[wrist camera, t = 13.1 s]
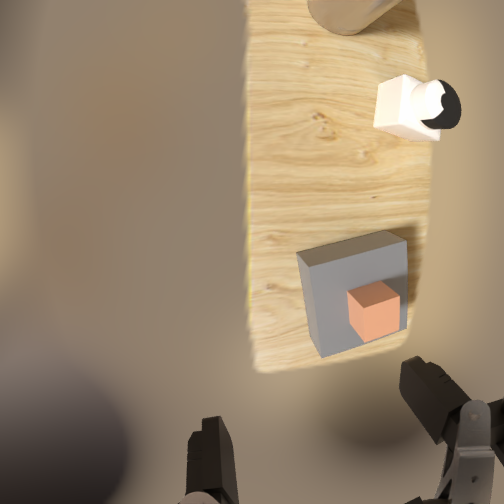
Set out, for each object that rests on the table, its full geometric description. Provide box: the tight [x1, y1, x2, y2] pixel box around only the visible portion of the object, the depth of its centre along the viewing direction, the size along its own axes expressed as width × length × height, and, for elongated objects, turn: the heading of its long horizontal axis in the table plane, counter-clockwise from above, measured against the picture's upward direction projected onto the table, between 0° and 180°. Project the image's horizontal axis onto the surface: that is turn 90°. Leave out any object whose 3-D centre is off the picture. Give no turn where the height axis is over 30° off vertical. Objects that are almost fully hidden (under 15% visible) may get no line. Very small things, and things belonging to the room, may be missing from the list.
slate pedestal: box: [296, 230, 408, 358], centre depth 41 cm, size 14×14×6 cm
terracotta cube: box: [347, 281, 400, 343], centre depth 36 cm, size 5×5×5 cm
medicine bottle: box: [373, 74, 461, 141], centre depth 31 cm, size 7×7×12 cm
